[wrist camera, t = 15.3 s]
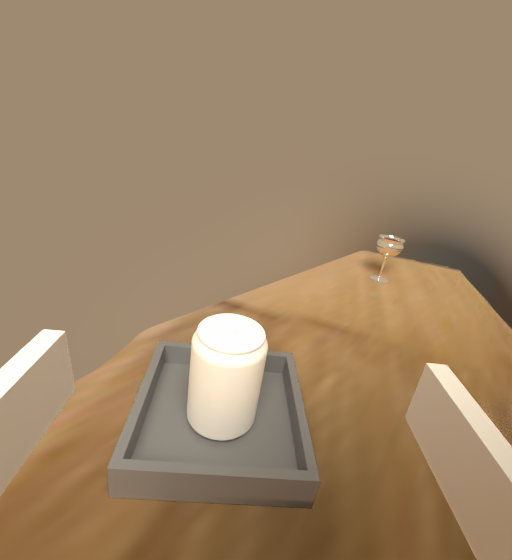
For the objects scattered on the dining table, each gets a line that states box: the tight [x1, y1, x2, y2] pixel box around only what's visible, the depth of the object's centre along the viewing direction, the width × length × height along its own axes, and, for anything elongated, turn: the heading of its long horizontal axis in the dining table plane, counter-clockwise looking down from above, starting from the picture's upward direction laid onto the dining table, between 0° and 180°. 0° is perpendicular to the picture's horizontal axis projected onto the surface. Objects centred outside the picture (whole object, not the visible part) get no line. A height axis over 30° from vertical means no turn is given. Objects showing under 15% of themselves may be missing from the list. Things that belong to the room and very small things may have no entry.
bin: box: [107, 340, 320, 508], centre depth 38 cm, size 19×19×4 cm
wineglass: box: [370, 234, 405, 283], centre depth 89 cm, size 7×7×12 cm
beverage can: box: [187, 314, 268, 441], centre depth 36 cm, size 8×8×12 cm
